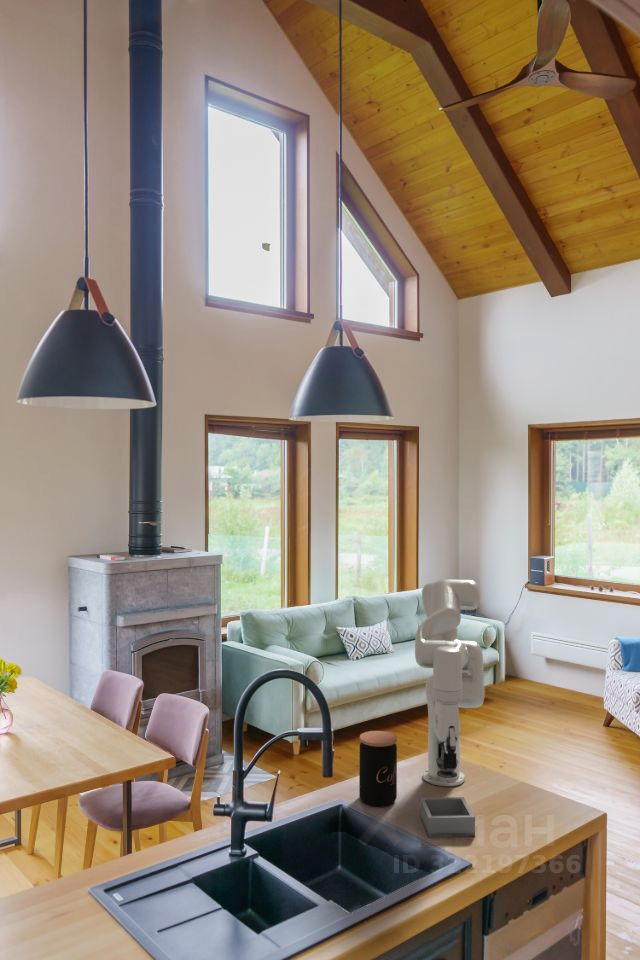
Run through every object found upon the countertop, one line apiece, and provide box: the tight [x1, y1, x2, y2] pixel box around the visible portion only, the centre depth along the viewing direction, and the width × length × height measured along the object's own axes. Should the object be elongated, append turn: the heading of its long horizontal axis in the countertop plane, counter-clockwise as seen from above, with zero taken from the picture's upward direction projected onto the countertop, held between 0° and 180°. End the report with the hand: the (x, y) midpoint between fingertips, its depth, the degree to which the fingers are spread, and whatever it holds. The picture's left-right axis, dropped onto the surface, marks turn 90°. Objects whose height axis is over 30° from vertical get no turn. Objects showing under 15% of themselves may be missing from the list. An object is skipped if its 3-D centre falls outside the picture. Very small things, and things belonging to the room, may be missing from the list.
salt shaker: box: [436, 738, 458, 778], centre depth 202 cm, size 6×6×12 cm
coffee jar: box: [358, 730, 398, 808], centre depth 218 cm, size 11×11×18 cm
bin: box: [419, 796, 476, 839], centre depth 202 cm, size 12×12×5 cm
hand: (447, 762), depth 202 cm, fingers closed on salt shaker, 5 cm apart
